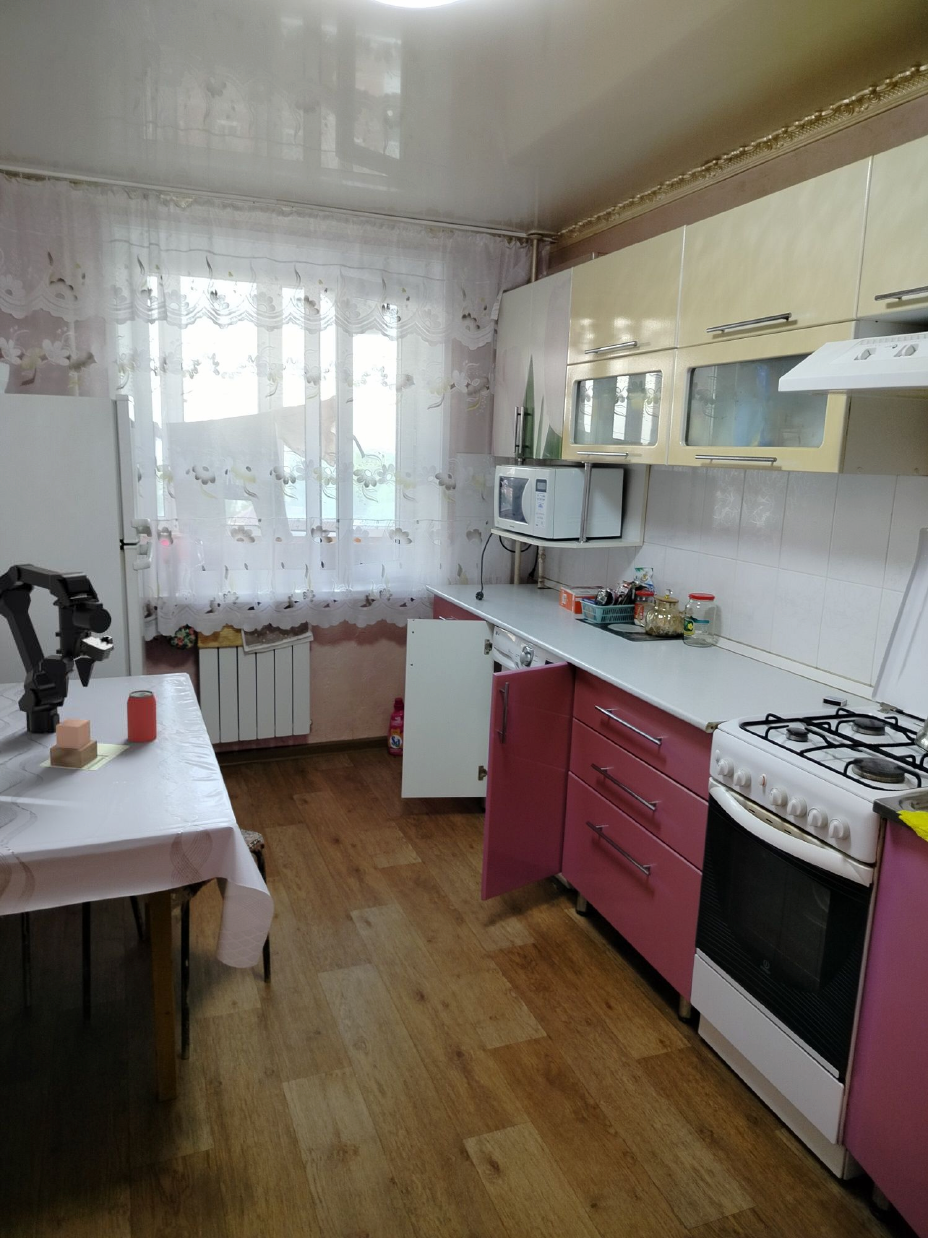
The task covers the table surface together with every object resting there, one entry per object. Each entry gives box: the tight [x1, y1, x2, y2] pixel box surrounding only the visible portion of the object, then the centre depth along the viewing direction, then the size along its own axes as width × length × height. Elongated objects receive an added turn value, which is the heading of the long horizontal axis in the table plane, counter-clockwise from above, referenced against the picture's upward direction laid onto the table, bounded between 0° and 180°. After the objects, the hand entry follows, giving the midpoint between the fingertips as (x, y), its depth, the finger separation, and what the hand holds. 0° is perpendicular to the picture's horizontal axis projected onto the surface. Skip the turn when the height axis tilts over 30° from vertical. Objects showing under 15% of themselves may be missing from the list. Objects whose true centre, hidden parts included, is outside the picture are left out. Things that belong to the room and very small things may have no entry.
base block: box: [49, 739, 98, 768], centre depth 188 cm, size 7×7×4 cm
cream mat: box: [38, 742, 130, 771], centre depth 192 cm, size 13×16×1 cm
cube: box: [55, 718, 91, 749], centre depth 187 cm, size 5×5×5 cm
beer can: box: [126, 689, 158, 743], centre depth 205 cm, size 7×7×12 cm
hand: (75, 692), depth 198 cm, fingers open, 9 cm apart
